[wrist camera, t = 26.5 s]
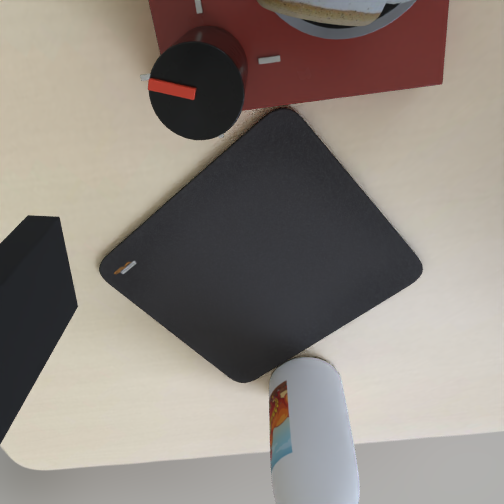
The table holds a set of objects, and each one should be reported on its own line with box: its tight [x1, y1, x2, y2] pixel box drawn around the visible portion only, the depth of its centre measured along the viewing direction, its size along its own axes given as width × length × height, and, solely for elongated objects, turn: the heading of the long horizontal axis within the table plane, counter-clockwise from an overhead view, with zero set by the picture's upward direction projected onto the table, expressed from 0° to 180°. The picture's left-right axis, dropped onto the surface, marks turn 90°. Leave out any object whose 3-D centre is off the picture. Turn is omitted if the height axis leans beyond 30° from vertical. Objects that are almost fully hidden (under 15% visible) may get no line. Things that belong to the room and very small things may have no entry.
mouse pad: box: [99, 108, 423, 383], centre depth 41 cm, size 23×20×1 cm
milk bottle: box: [269, 357, 360, 504], centre depth 41 cm, size 8×8×20 cm
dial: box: [148, 26, 248, 140], centre depth 27 cm, size 5×5×7 cm
